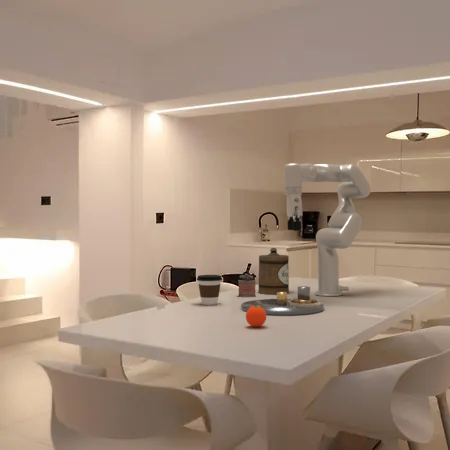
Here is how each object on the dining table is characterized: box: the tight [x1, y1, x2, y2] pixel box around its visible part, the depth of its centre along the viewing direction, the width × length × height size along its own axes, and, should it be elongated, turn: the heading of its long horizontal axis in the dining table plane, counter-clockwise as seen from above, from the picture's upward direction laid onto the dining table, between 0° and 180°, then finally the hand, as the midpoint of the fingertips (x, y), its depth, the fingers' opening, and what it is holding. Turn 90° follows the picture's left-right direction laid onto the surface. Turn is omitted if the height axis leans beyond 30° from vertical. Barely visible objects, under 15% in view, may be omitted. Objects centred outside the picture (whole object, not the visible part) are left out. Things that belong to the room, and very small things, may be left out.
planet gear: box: [291, 285, 316, 304], centre depth 220 cm, size 9×9×7 cm
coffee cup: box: [196, 274, 223, 306], centre depth 232 cm, size 11×11×12 cm
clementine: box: [245, 306, 267, 328], centre depth 183 cm, size 8×7×7 cm
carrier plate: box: [240, 292, 325, 317], centre depth 219 cm, size 33×33×6 cm
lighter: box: [237, 274, 257, 298], centre depth 254 cm, size 8×3×10 cm, turn 84°
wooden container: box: [258, 247, 290, 296], centre depth 268 cm, size 15×15×22 cm
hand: (294, 230), depth 242 cm, fingers open, 9 cm apart
